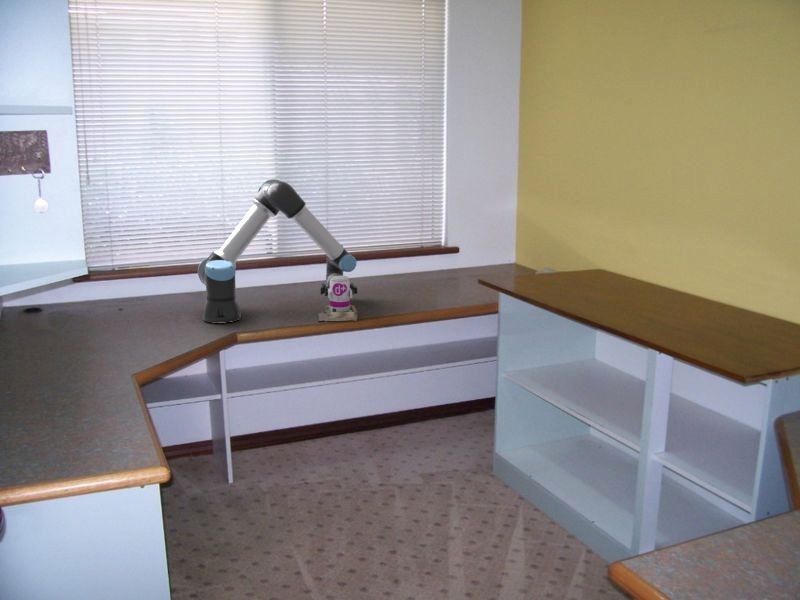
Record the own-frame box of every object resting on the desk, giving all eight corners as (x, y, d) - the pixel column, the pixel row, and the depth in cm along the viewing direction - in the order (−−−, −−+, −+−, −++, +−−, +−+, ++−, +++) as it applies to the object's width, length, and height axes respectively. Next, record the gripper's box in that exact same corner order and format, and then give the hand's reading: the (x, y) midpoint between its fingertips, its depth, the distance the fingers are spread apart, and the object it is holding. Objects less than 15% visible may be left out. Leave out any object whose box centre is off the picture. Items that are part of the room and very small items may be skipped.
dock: (318, 322, 307) (318, 313, 306) (317, 312, 321) (317, 305, 320) (358, 321, 309) (358, 313, 308) (354, 312, 324) (354, 304, 323)
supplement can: (348, 315, 311) (348, 279, 307) (328, 314, 311) (328, 279, 308) (350, 310, 319) (350, 275, 315) (330, 309, 319) (330, 275, 315)
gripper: (360, 291, 333) (365, 303, 311) (312, 292, 329) (314, 304, 308) (360, 274, 331) (366, 285, 309) (312, 275, 328) (314, 286, 306)
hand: (340, 295), depth 308 cm, fingers closed on supplement can, 8 cm apart
